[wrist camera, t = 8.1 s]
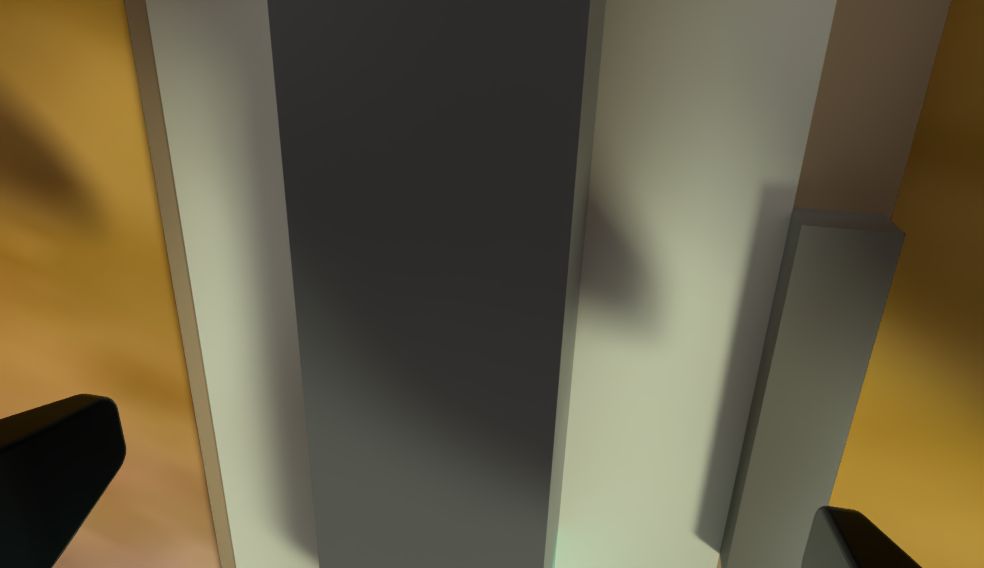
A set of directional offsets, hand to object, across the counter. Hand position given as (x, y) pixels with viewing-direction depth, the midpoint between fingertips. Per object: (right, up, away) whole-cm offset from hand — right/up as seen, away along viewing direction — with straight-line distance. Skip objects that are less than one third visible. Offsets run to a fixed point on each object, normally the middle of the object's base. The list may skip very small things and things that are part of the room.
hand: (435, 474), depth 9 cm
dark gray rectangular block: (+1, +1, +2) cm, 3 cm away
